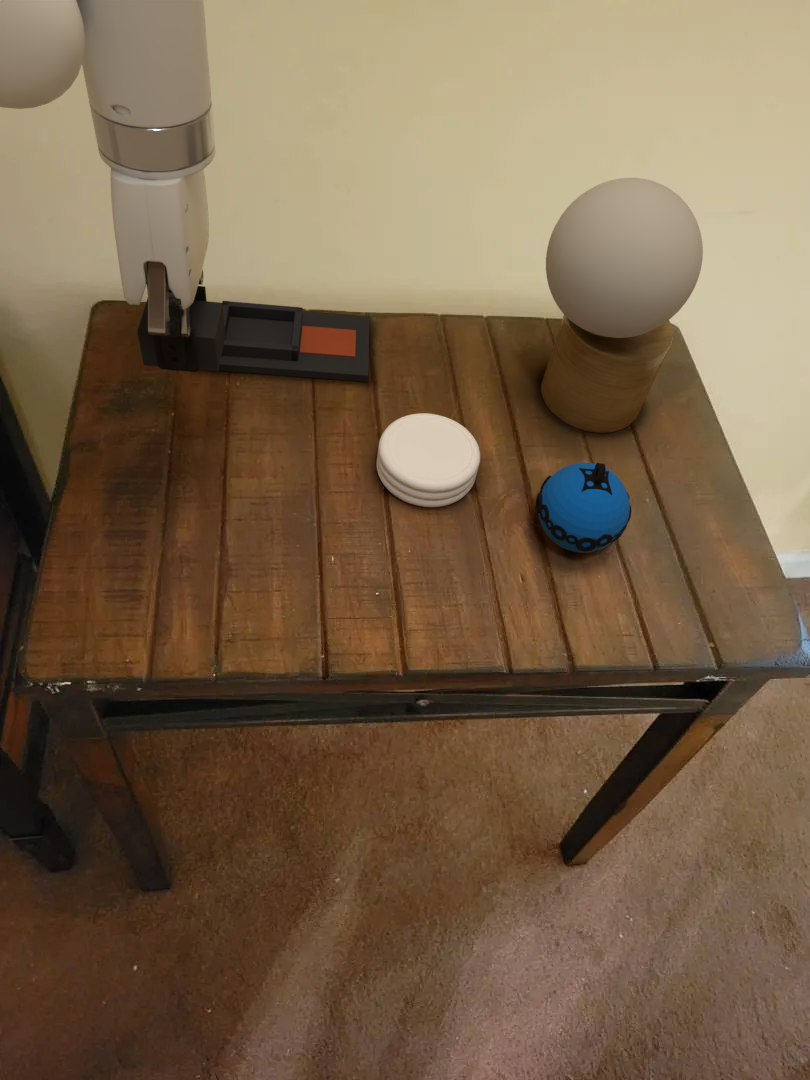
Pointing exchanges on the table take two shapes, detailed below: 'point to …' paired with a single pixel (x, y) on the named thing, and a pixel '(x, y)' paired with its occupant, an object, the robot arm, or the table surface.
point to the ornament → (583, 507)
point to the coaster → (427, 460)
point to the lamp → (616, 298)
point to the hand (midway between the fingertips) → (184, 344)
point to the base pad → (294, 342)
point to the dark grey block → (207, 330)
